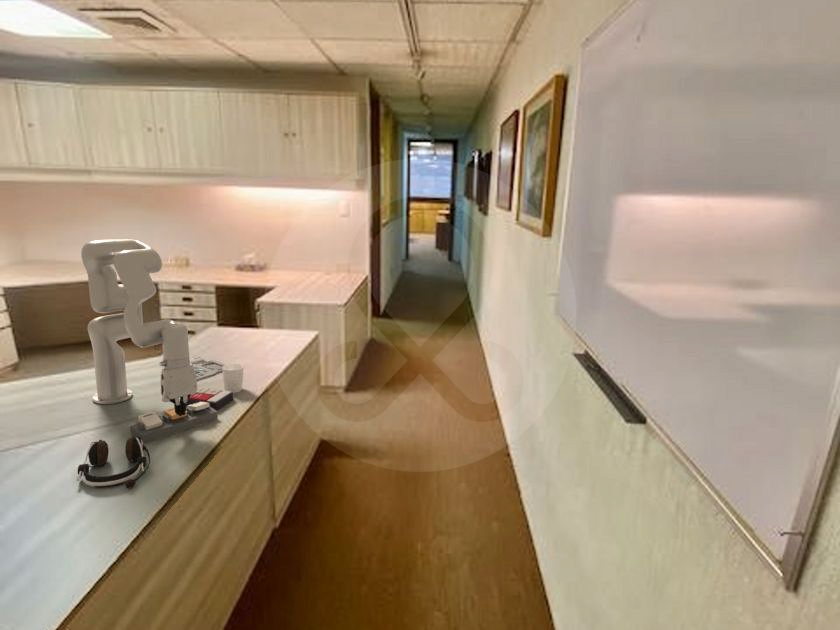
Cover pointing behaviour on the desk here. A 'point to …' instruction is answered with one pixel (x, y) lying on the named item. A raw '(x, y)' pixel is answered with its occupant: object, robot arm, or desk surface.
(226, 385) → the white cup
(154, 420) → the rocker
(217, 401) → the calculator
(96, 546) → the desk surface
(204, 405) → the rocker
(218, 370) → the office telephone
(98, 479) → the headset
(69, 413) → the desk surface
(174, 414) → the rocker middle
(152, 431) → the rocker switch panel
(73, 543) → the desk surface
